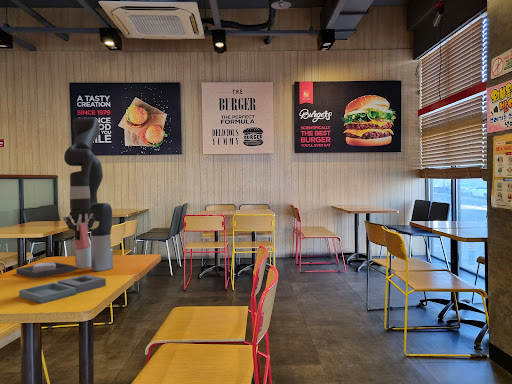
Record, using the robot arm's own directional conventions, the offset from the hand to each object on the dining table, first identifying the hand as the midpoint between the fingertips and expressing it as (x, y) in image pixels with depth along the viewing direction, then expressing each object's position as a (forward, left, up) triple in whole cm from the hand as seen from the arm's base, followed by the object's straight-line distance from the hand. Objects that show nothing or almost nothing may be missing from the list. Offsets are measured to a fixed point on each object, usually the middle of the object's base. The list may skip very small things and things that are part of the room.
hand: (81, 239), depth 147 cm
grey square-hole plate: (0, 0, -20) cm, 20 cm away
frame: (-6, -41, -20) cm, 46 cm away
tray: (+14, 0, -20) cm, 24 cm away
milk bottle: (-22, -35, -20) cm, 46 cm away
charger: (-5, -41, -20) cm, 46 cm away
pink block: (0, +1, -4) cm, 4 cm away
